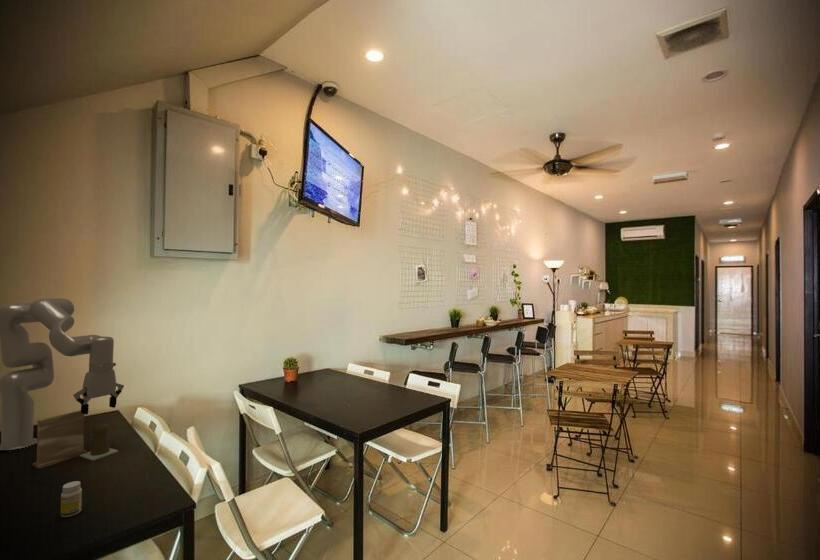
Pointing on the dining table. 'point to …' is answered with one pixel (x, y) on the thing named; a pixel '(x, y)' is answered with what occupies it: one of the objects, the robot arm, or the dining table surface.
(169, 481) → the dining table surface
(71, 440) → the wooden board
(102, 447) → the cork
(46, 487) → the dining table surface
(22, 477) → the dining table surface
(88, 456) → the coaster
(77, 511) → the supplement bottle
